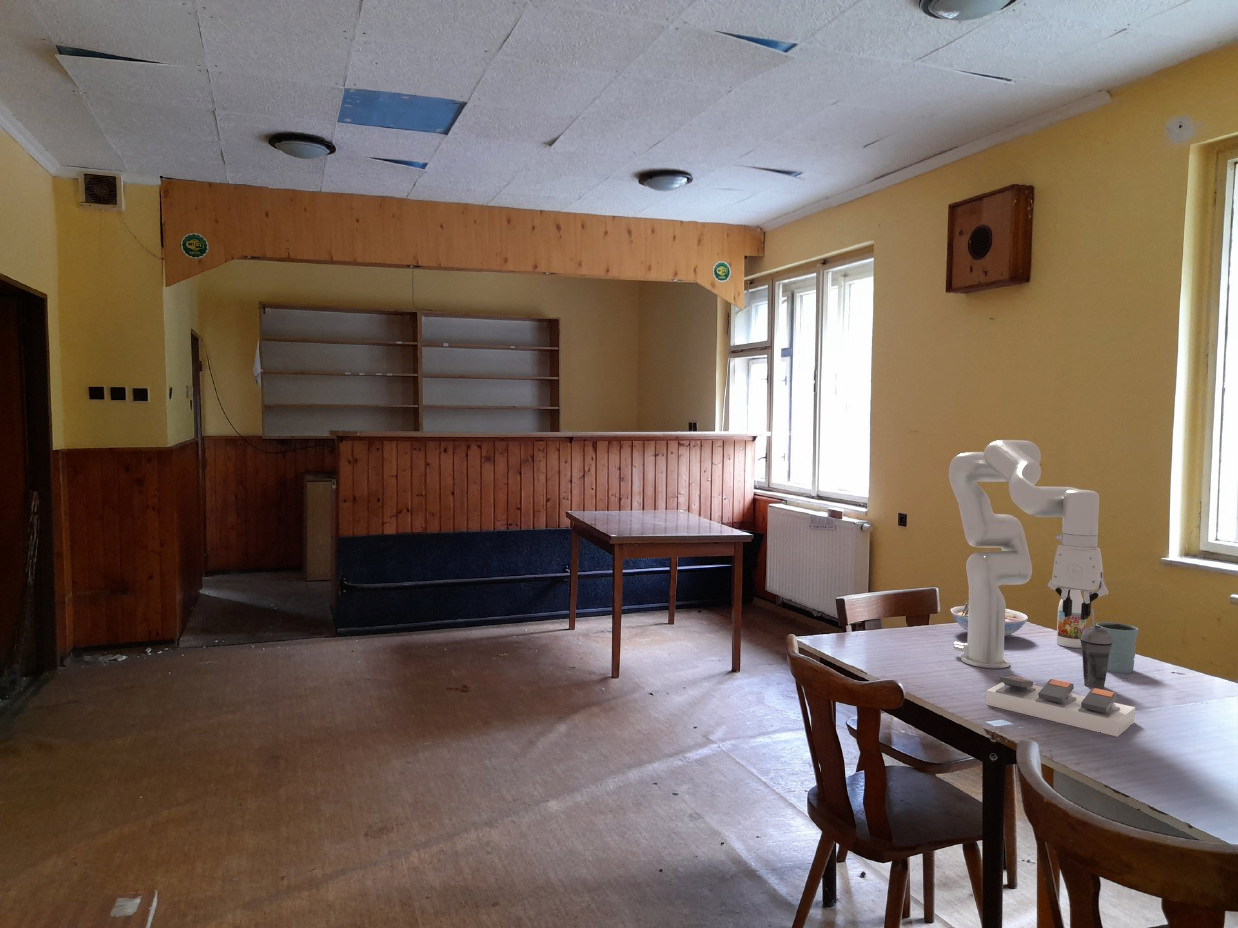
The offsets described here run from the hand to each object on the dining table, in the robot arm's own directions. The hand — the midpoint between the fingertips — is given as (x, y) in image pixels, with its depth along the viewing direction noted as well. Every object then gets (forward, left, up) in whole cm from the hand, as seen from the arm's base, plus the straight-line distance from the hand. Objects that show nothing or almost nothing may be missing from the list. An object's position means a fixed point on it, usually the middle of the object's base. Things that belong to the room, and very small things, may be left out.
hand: (1076, 616), depth 203 cm
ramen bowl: (-41, +52, -21) cm, 70 cm away
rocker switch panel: (0, -10, -21) cm, 23 cm away
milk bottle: (-19, +60, -21) cm, 66 cm away
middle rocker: (0, -12, -16) cm, 20 cm away
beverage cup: (-1, +20, -21) cm, 29 cm away
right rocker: (+9, -12, -16) cm, 22 cm away
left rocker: (-9, -12, -16) cm, 22 cm away
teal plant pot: (-2, +42, -21) cm, 47 cm away
